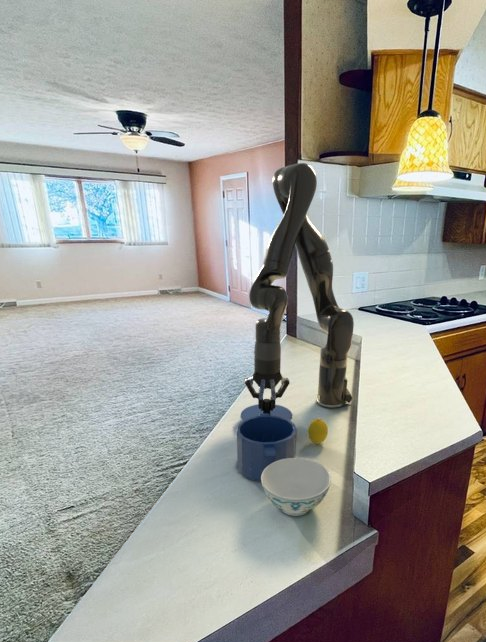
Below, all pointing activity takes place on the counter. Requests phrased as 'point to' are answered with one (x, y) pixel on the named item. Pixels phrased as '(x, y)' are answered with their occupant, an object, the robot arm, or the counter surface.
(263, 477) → the chinaware
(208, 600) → the counter surface
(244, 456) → the pot
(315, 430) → the lemon
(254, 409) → the lid
